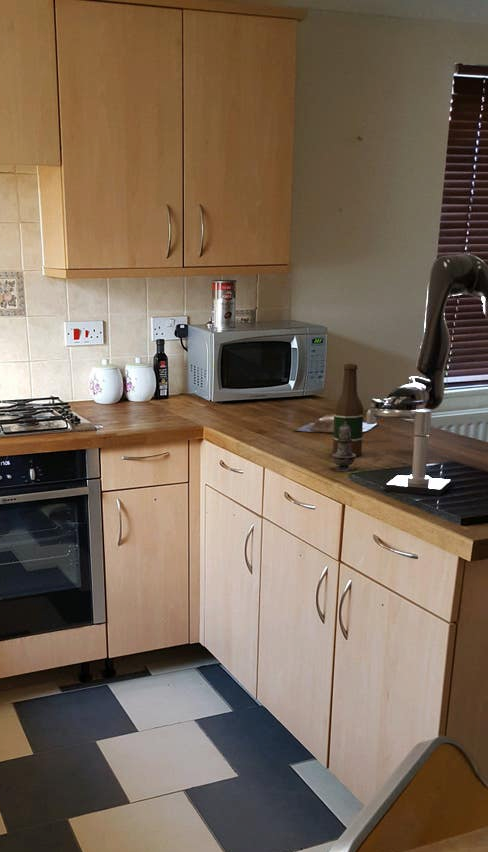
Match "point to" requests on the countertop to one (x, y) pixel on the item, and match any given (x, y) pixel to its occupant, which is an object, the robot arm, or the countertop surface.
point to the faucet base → (419, 488)
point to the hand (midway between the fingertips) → (386, 410)
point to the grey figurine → (344, 450)
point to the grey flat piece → (328, 425)
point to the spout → (420, 418)
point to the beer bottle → (349, 411)
